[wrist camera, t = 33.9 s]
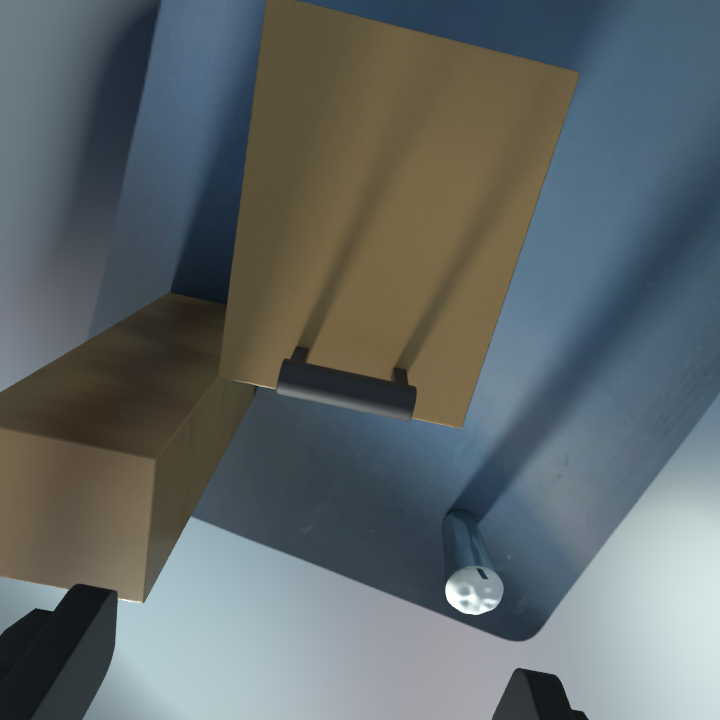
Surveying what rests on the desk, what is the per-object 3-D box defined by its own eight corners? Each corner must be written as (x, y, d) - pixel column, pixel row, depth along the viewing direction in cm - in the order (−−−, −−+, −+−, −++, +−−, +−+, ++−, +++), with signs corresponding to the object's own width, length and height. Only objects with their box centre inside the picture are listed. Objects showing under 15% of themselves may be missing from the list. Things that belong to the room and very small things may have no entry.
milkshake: (488, 499, 47) (516, 582, 37) (478, 545, 48) (503, 634, 39) (439, 494, 47) (455, 576, 37) (431, 541, 48) (445, 629, 39)
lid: (459, 422, 27) (476, 472, 23) (221, 371, 26) (190, 413, 22) (574, 75, 21) (627, 49, 17) (270, -2, 20) (240, -50, 16)
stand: (161, 380, 43) (-33, 571, 23) (169, 291, 40) (-45, 417, 20) (253, 399, 44) (143, 604, 23) (266, 313, 41) (156, 458, 20)
